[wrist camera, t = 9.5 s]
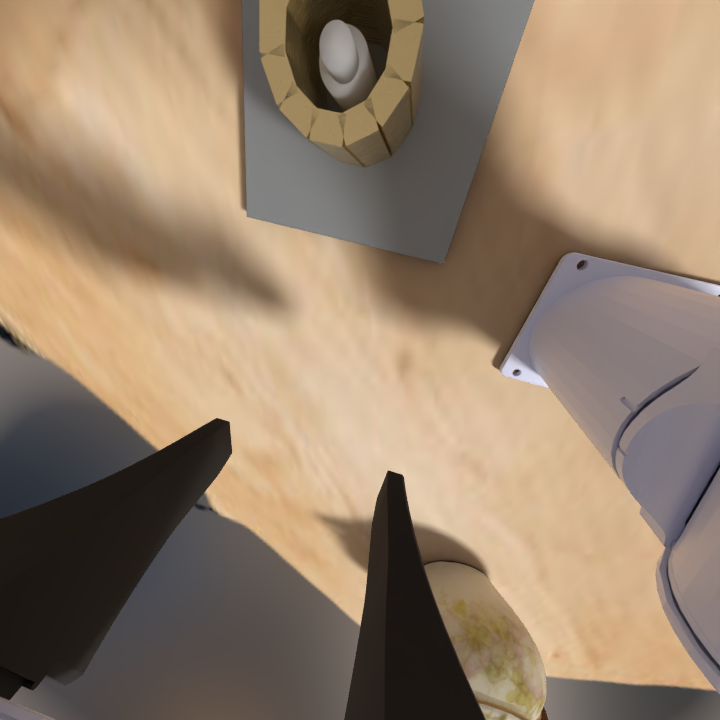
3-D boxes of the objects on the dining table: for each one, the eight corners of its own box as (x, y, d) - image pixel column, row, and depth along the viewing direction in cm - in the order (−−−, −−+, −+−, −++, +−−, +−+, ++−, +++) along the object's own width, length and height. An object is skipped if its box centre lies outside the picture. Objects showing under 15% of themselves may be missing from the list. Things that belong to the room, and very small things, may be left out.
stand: (557, -78, 9) (696, -374, 5) (441, 261, 16) (451, 280, 11) (252, -119, 10) (112, -404, 6) (255, 216, 16) (189, 215, 12)
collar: (437, 23, 10) (448, -93, 7) (401, 176, 13) (394, 158, 9) (316, 1, 11) (259, -119, 7) (305, 154, 13) (259, 128, 10)
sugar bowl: (569, 596, 29) (689, 898, 16) (477, 624, 37) (509, 845, 24) (421, 517, 28) (423, 779, 15) (357, 564, 35) (321, 764, 22)
